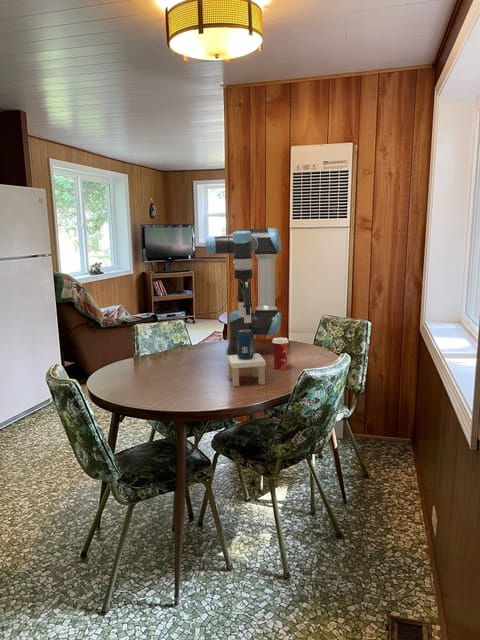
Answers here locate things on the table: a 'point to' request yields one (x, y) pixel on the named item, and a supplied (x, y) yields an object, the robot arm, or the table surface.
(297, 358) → the table surface
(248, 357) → the soda can
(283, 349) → the paper cup
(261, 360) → the small white stool
